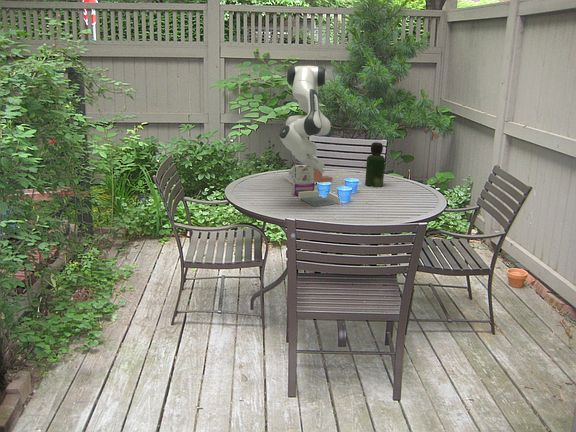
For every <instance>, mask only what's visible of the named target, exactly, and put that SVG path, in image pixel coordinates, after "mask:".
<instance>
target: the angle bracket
mask: <svg viewBox="0 0 576 432" xmlns="http://www.w3.org/2000/svg"><path fill="white" fill-rule="evenodd" d="M314 181H316V182H318V183H317V184H319V183H320V184H321V183H332V182H333V177H331V176H328V175H323V173H320V172H319V170H317V169H315V168H314Z"/></svg>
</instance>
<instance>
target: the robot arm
mask: <svg viewBox="0 0 576 432" xmlns="http://www.w3.org/2000/svg"><path fill="white" fill-rule="evenodd" d="M285 79H286V83H287V84H288V85H289V86H292V89H291V90H292V92H291V93H292V96H293V98H294V100H296V101H297V104H298V105H297V106H298V108H299V109H300V110H301V111H303V112H304V113H306V115H301V114H300V115H299V114H298V115H297V114H296V115H291V116H289V117H288V118H287V119H286V121H285V126H283V127H282V128H281V129H280V131H279V133H278V136H279V139H280V141H281V142H282V144H283V145H284V146H285V147H286V149H287V150H289V151H290V152H291V155H292V156H293V158H295V164H294V165H304V164H305V165H307V166H310V167H311V168H312V169H313V170H314V168H315V169H317V170H319V172H320V173H322V174H323V173H324V172H325V171H324V168H325V164H324V163H323V161H322V160H321V159H320V158H318V156H317V145H316V144H315V142H313V141H311V140H309V139H308V138H309V137H312V136H315V137H316V136H317V137H318V136H319V137H321V136H326V135H328V134H329V133H330V131H331V127H332V126H331V121H330V120H329V118H327V117H326V116H325V115H324V113H322V111H321V109H320V98H319V87H323V86H324V85H325V84H326V82H327V80H328V72H327V69H326V67H323V66H316V65H299V66H298V65H297V66H295V65H292V66H289V68H287V70H286V75H285ZM285 180H286V181H288V182H289V183H290V184H292V185H293V166H292V167H290V168H289V171H288V176H285ZM316 183H317V182H316V181H314V185H317V184H318V183H317V184H316Z"/></svg>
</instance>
